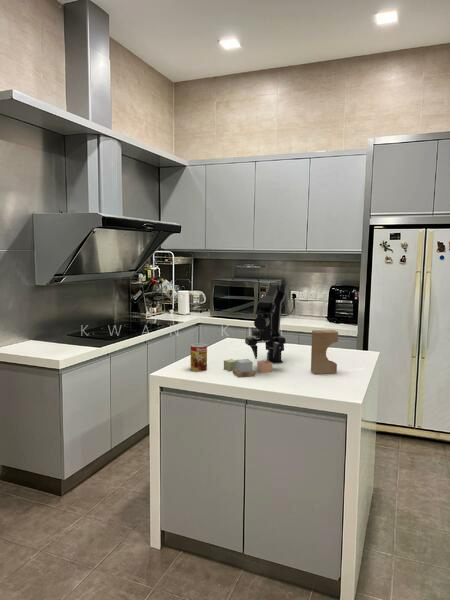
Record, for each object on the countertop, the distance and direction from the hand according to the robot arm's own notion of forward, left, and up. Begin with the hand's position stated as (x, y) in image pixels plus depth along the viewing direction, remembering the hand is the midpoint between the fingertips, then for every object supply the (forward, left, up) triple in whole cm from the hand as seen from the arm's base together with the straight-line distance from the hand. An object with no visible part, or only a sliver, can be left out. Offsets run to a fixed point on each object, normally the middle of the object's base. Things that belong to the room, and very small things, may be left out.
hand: (264, 358), depth 212 cm
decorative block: (-26, +10, -6) cm, 29 cm away
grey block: (+12, +4, -4) cm, 13 cm away
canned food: (+30, -10, -6) cm, 32 cm away
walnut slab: (+12, +4, -7) cm, 14 cm away
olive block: (+15, -6, -6) cm, 17 cm away
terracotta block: (0, 0, -6) cm, 6 cm away
